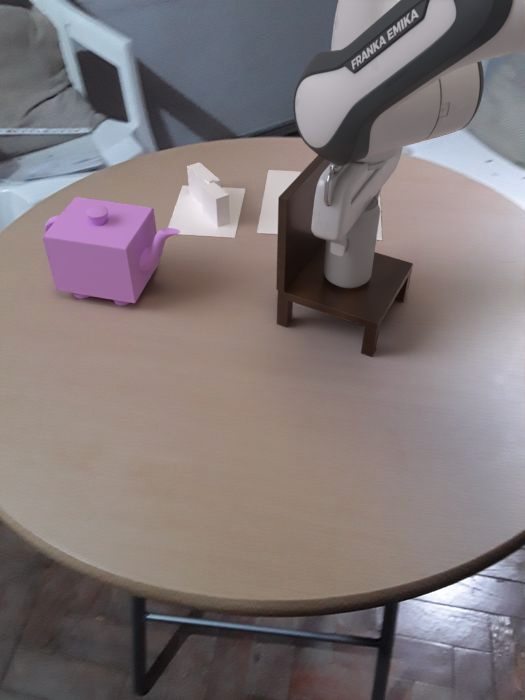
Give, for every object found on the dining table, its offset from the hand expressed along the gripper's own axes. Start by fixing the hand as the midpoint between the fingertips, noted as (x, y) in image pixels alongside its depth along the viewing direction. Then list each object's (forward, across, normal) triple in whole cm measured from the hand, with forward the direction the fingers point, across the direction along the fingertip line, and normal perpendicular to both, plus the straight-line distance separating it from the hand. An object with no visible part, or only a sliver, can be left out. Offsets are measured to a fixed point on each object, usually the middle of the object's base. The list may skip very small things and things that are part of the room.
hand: (353, 232), depth 87 cm
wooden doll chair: (+13, 0, 0) cm, 13 cm away
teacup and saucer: (+13, +24, +14) cm, 31 cm away
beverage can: (+7, 0, 0) cm, 7 cm away
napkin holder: (+13, +13, +30) cm, 35 cm away
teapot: (+13, -10, +31) cm, 35 cm away
